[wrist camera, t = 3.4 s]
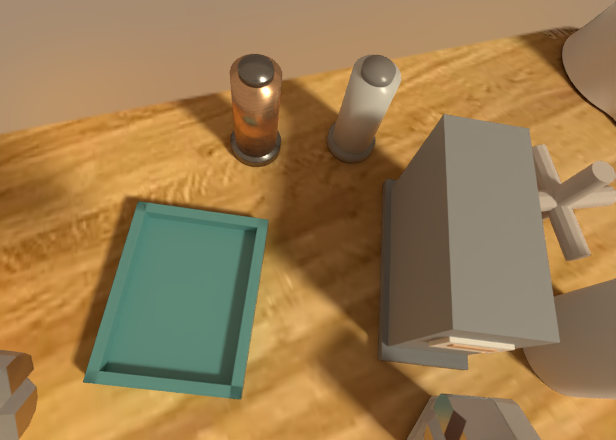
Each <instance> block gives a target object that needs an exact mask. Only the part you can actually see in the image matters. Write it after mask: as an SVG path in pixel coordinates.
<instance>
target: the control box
mask: <svg viewBox="0 0 616 440" xmlns="http://www.w3.org/2000/svg"><path fill="white" fill-rule="evenodd" d="M554 343H560V338H559V331H558V324H557V317H556V310H555V304H554V297H553V290H552V283H551V276H550V269H549V262H548V256H547V249H546V242H545V235H544V228H543V221H542V214H541V208H540V201H539V194H538V187H537V180H536V173H535V166H534V159H533V153H532V146H531V139H530V132H529V128H523V127H517V126H511V125H505V124H499V123H493V122H487V121H481V120H475V119H470V118H464V117H458V116H452V115H446V114H444V115H443V116H442V118H441V119H440V120H439V122H438V123H437V125H436V126H435V128H434V129H433V130H432V132H431V133H430V135H429V136H428V137H427V139H426V140H425V142H424V143H423V145H422V146H421V147H420V149H419V150H418V152H417V153H416V155H415V156H414V157H413V159H412V160H411V162H410V163H409V165H408V166H407V167H406V169H405V170H404V172H403V173H402V175H401V176H400V177H399V179H398V180H391V179H386V180H385V182H384V183H383V204H382V237H381V270H380V303H379V335H378V360H381V361H389V362H398V363H406V364H415V365H423V366H432V367H440V368H448V369H457V370H468V357H467V355H470V354H478V353H494V352H502V351H510V350H515V349H516V348H524V347H531V346H539V345H547V344H554Z"/></svg>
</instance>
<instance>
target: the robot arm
mask: <svg viewBox="0 0 616 440" xmlns="http://www.w3.org/2000/svg"><path fill="white" fill-rule="evenodd" d="M562 59H563V64H564V67H565V70H566V72H567V74H568V76H569V78H570V80H571V81H572V83H573V84H574V85H575V87H576V88H577V89H578V90H579V91H580V92H581V94H582V95H583V96H585V97H586V98H587V99H588V100H589V101H590V102H591V103H593V104H594V105H595V106H597V107H598V108H600V109H601V110H603V111H604V112H606V113H607V114H609V115H610V116H611V117H612V118H613V119H614V120H615V121H616V1H615V2H614V3H613V4H612V5H611V6H609V7H608V8H607V9H606V10H605V11H603V12H602V13H601V14H600V15H598V16H597V17H596V18H594V19H593V20H592V21H590V22H589V23H588V24H587V25H585V26H584V27H582V28H581V29H579V30H578V31H576V32H575V33H573V34H572V35H570V36H569V37H568V39H567V40H566V41H565V43H564V46H563V51H562ZM33 370H34V367H33V362H32V357H31V355H29V354H26V353H22V352H14V351H6V350H0V440H19V439H20V437H21V436H22V435H23V433H24V432H25V430H26V429H27V427H28V426H29V424H30V422H31V419H32V417H33V415H34V412H35V410H36V405H37V398H38V396H37V388H36V386H35V385H34V384H33V383H32V382H31V381H30V380H29V379H28V378H27V377H28V376H29V374H30V373H31V372H32V371H33ZM433 408H434V410H435V413H436V417H435V418H434V419H432V420H431V421H430V422H428V423H427V427H426V430H425V433H424V440H541V439H540V437H539V436H538V434H537V433H536V431H535V430H534V428H533V426H532V425H531V423H530V422H529V420H528V419H527V417H526V416H525V414H524V413H523V411H522V410H521V408H520V406H519V405H518V404H517V403H516V402H514V401H513V400H512V399H500V398H485V397H475V396H464V395H453V394H440V395H439V396H438V397H437V399H436V401H435V404H434V407H433Z"/></svg>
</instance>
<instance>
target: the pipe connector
mask: <svg viewBox="0 0 616 440" xmlns="http://www.w3.org/2000/svg"><path fill="white" fill-rule="evenodd" d="M532 153H533V159H534V166H535V173H536V180H537V187H538V194H539V201H540V208H541V214H542V221H543V220H545V219H547V218H549V219H550V221H551V224H552V226H553V229H554V232H555V234H556V237H557V239H558V242H559V244H560V247H561V250H562V252H563V255H564V257H565V260H566V261H571V260H577V259H581V258H585V257H588V256H590V255H591V253H590V250H589V248H588V246H587V243H586V241H585V238H584V236H583V234H582V231H581V229H580V226H579V224H578V222H577V219H576V217H575V214H574V212H573V210H572V209H579V208H591V207H603V206H610V205H612V204H613V203H614V202H615V201H616V191H615V189H614V188H613V187H611V186H608V184H609V183H611V182H613V181H614V180H615V178H616V174H615V171H614V169H613V168H612V167H611V166H610V165H609V164H608V163H606V162H603V161H596V162H594V163H593V164H591V165H590V166H588V167H587V168H585V169H584V170H582V171H580V172H579V173H577V174H576V175H574V176H573V177H571V178H570V179H568V180H567V181H565V182H563V183H561V181H560V178H559V176H558V174H557V171H556V169H555V166H554V164H553V161H552V159H551V157H550V154H549V152H548V149H547V147H546V145H537V146H534V147H532Z"/></svg>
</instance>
